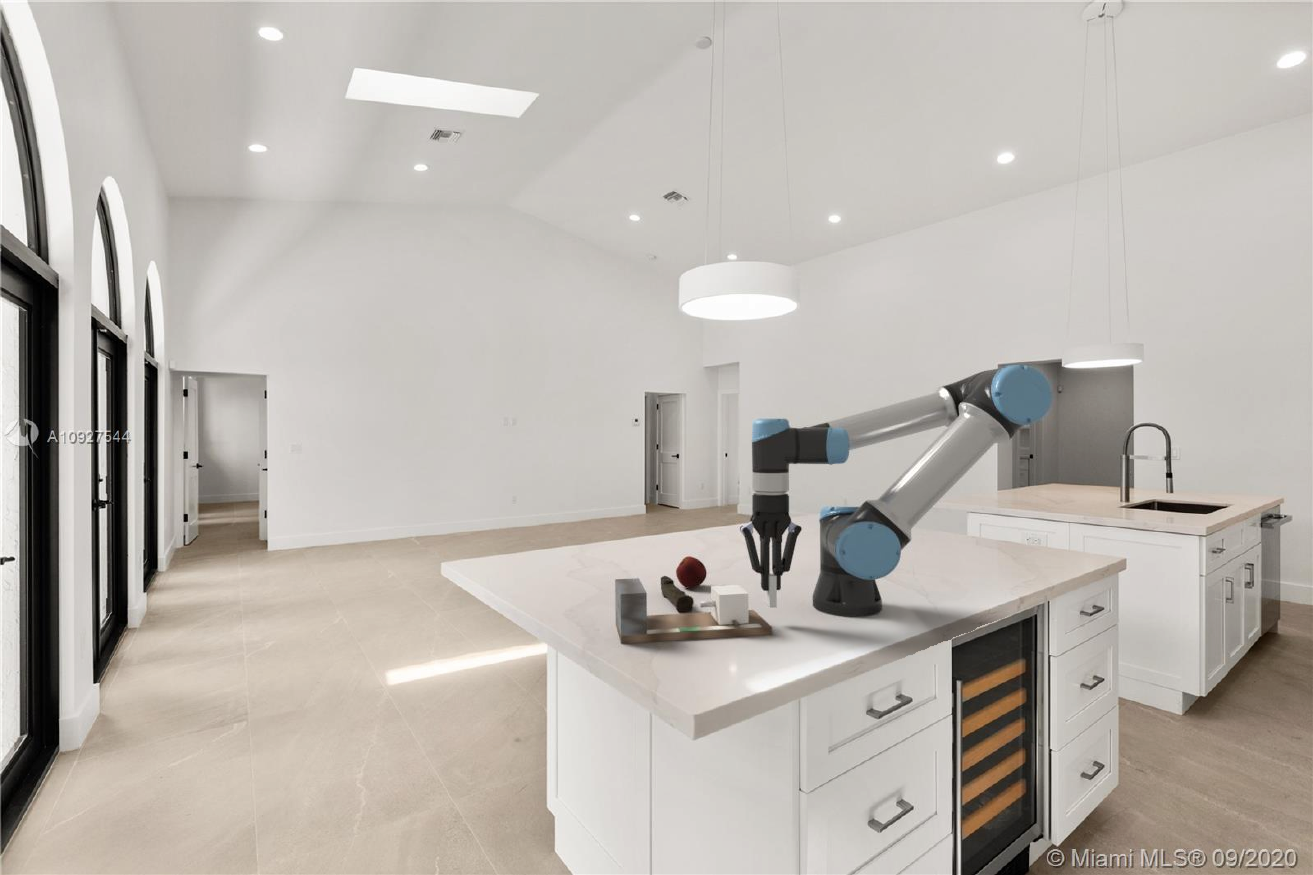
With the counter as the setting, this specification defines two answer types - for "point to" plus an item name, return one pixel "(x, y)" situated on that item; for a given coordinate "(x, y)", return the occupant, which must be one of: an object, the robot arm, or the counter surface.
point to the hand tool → (676, 595)
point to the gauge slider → (728, 605)
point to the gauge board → (671, 620)
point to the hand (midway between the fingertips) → (771, 605)
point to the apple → (691, 572)
